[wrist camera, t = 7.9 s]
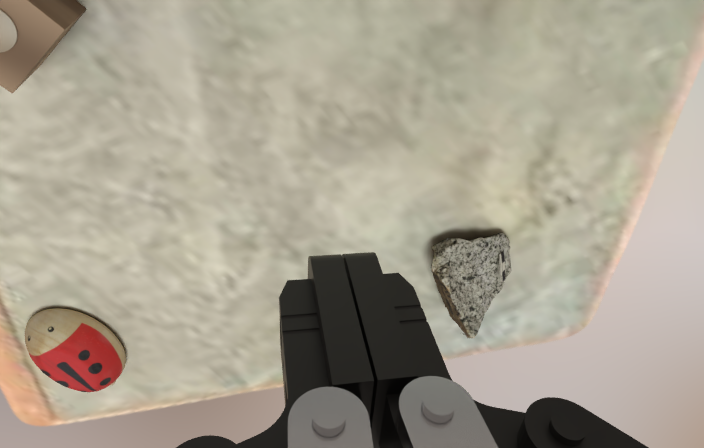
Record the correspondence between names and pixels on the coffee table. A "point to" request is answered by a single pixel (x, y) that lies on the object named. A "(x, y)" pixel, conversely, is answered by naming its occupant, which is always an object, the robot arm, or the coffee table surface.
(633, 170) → the coffee table surface
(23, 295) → the coffee table surface
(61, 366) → the ladybug figurine
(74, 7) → the walnut dotted block
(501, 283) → the rock sample
